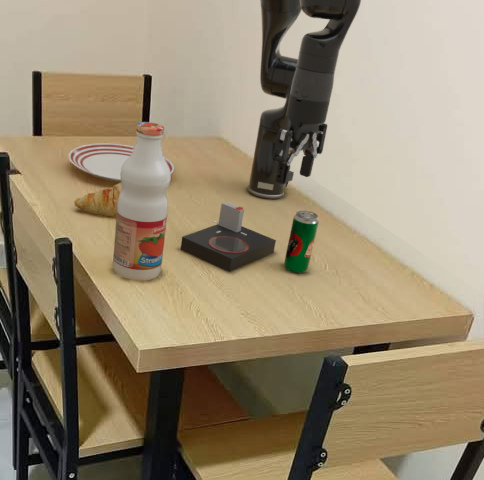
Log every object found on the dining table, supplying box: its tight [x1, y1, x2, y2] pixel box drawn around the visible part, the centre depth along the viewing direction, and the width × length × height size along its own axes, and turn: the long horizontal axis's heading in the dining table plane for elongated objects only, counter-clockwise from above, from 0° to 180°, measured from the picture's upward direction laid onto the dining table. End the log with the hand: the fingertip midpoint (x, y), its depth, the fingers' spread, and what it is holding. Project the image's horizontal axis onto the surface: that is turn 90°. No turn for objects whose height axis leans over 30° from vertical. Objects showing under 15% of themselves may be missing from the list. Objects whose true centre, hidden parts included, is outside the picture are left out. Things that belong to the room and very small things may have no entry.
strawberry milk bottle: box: [112, 121, 172, 282], centre depth 136 cm, size 9×9×28 cm
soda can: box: [283, 210, 320, 274], centre depth 150 cm, size 5×5×12 cm
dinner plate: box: [67, 142, 175, 184], centre depth 191 cm, size 28×27×3 cm
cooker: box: [180, 220, 277, 273], centre depth 157 cm, size 17×15×3 cm
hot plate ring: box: [209, 236, 249, 254], centre depth 152 cm, size 8×8×1 cm
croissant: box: [73, 183, 122, 218], centre depth 167 cm, size 21×10×8 cm, turn 109°
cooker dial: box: [217, 201, 245, 232], centre depth 159 cm, size 5×2×5 cm, turn 50°
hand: (293, 179), depth 146 cm, fingers open, 8 cm apart
